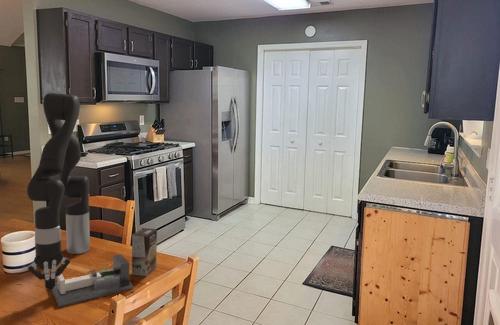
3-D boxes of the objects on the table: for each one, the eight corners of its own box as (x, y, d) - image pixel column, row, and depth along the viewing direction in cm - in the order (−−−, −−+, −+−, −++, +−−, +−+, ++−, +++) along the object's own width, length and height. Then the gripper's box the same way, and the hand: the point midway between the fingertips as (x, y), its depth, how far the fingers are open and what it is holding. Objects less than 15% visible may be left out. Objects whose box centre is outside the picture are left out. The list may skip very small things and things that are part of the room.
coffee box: (146, 276, 146) (147, 236, 144) (131, 274, 147) (131, 234, 145) (157, 266, 155) (157, 229, 153) (142, 265, 156) (142, 227, 154)
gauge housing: (49, 287, 135) (49, 264, 134) (118, 271, 149) (118, 251, 148) (58, 307, 122) (57, 282, 121) (132, 288, 136) (132, 266, 135)
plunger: (57, 287, 132) (57, 274, 131) (98, 278, 139) (97, 266, 139) (60, 294, 127) (60, 280, 126) (102, 284, 135) (102, 271, 134)
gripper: (67, 232, 132) (69, 279, 134) (23, 239, 124) (25, 289, 127) (72, 239, 126) (73, 288, 128) (26, 246, 118) (28, 298, 121)
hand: (50, 288), depth 128 cm, fingers closed
